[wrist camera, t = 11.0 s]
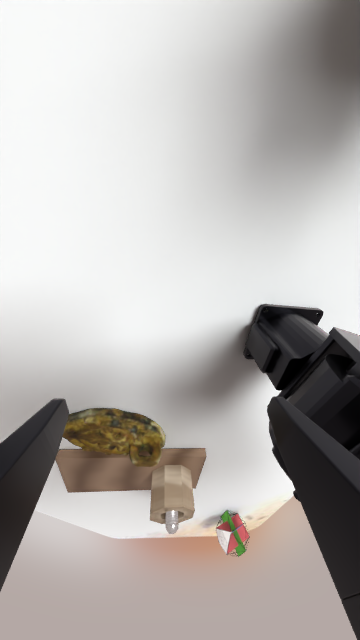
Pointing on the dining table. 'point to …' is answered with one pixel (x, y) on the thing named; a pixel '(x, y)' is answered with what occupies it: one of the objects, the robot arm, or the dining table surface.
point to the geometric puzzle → (232, 533)
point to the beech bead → (171, 493)
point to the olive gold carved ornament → (116, 434)
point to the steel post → (172, 521)
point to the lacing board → (120, 469)
